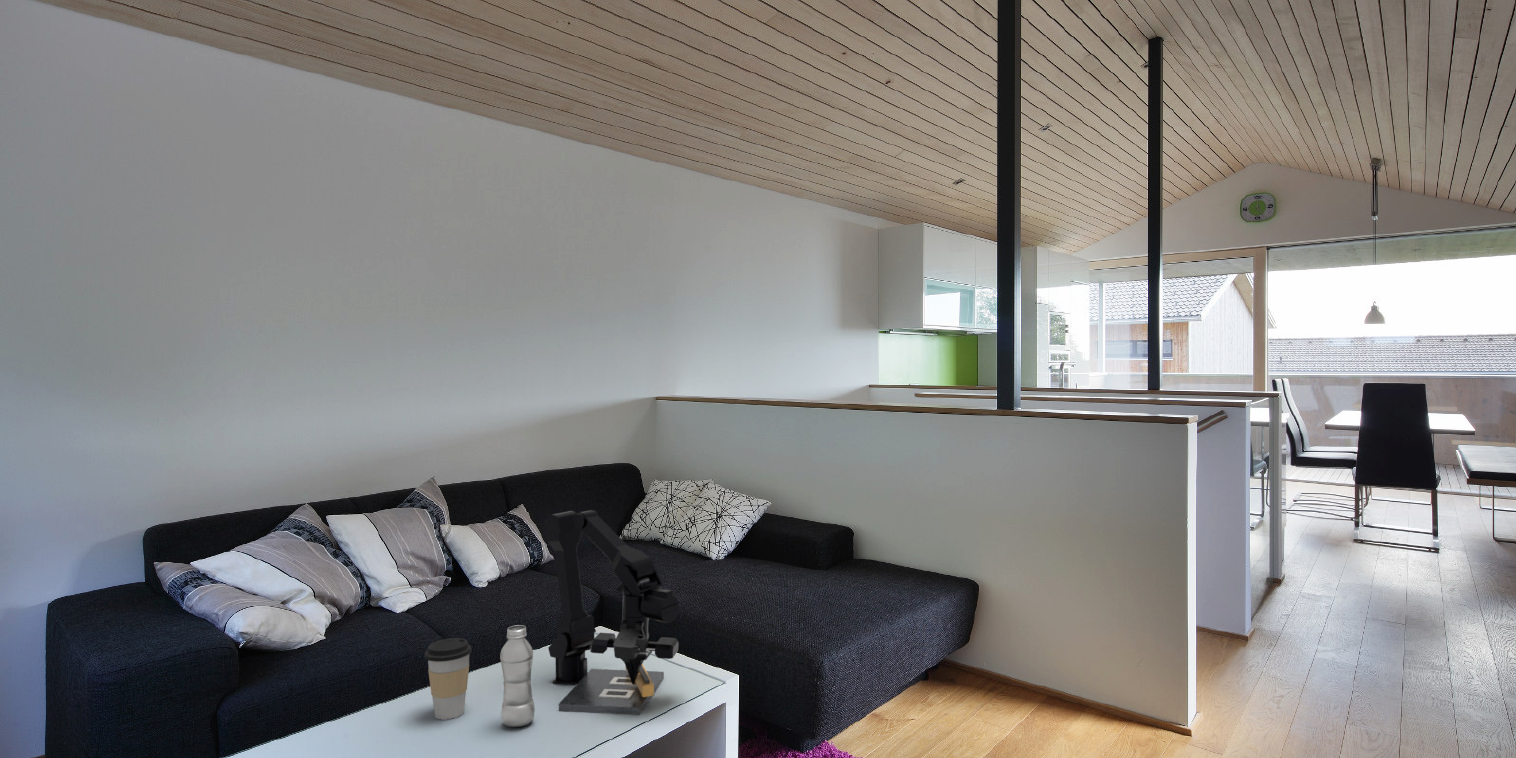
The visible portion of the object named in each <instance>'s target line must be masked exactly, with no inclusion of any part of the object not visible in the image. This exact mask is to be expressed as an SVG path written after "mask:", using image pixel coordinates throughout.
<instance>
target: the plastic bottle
mask: <svg viewBox="0 0 1516 758" xmlns="http://www.w3.org/2000/svg"><path fill="white" fill-rule="evenodd" d="M506 631H507V633H506V639H507V641H506V642H505V644H504V645H503V647H502V648H501V651H500V655H499V656H500V664H501V670H502V678H503V698H502V704H501V711H500V715H501V721H502V722H503V724H504V726H507V727H509V728H515V727H516V728H518V727H523V726H526V725H529V724H530V723H531V722H532V721H533V719H534V717H535V711H536V709H535V708H536V707H535V702H534V699H533V691H532V690H533V689H532V666H533V657H534V649H533V647H532V646H531V644H530V642H529V641H528V640H527V639H526V637H527V627H526V625H524V624H522V625H521V624H520V625H519V624H517V625H512V626H509V627H508V628H507V630H506Z"/></svg>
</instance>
